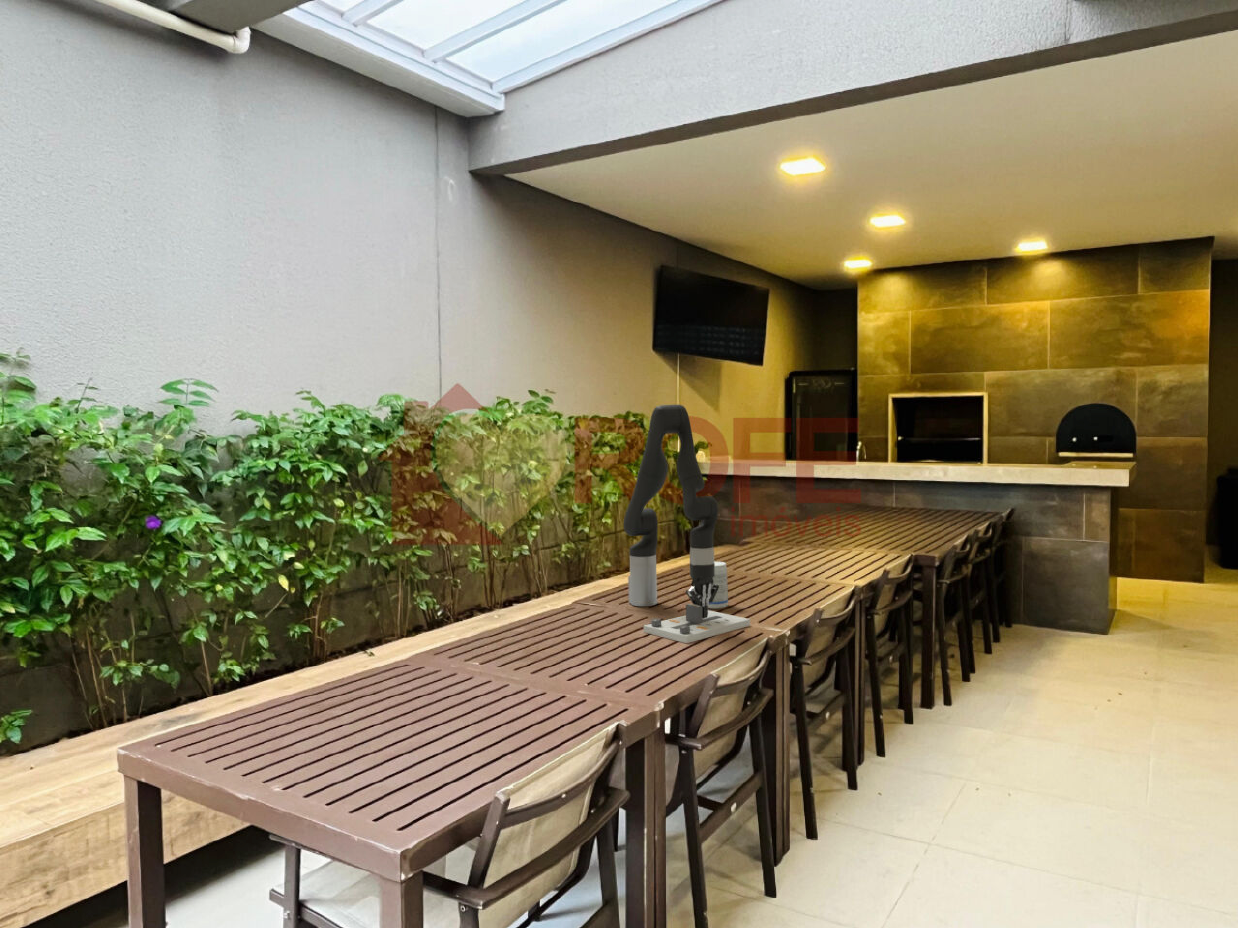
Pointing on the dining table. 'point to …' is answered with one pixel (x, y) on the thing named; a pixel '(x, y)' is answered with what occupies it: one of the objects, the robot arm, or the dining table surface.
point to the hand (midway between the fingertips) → (703, 617)
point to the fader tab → (694, 613)
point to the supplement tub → (720, 586)
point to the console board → (695, 627)
